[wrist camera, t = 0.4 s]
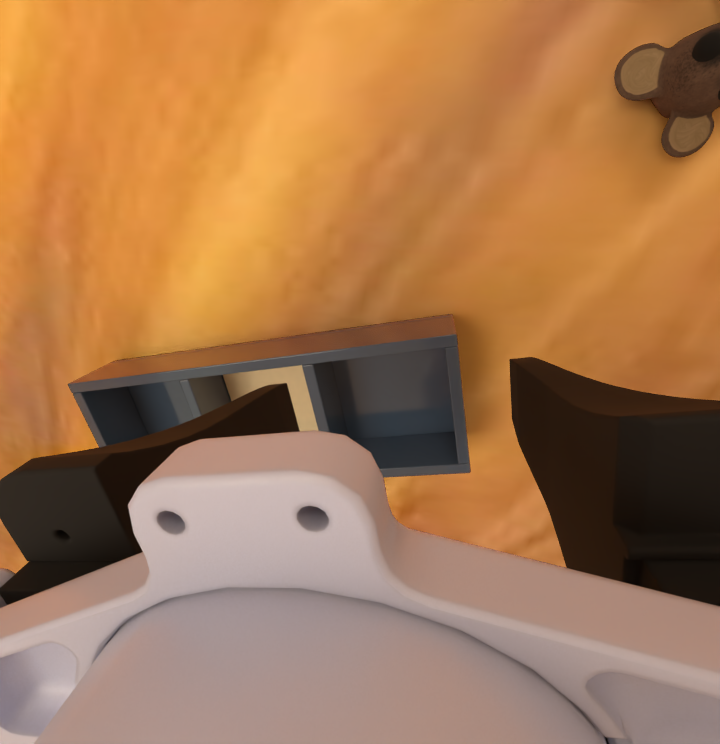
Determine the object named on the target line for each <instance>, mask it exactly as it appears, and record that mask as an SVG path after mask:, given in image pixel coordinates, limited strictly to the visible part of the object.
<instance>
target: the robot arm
mask: <svg viewBox="0 0 720 744" xmlns="http://www.w3.org/2000/svg"><path fill="white" fill-rule="evenodd" d="M510 382H511V404H512V420H513V424H514V428H515V432H516V435H517V439H518V442H519V445H520V447H521V450H522V452H523V454H524V456H525V459H526V461H527V463H528V465H529V467H530V470H531V472H532V474H533V476H534V478H535V480H536V483H537V485H538V487H539V489H540V491H541V493H542V496H543V498H544V500H545V502H546V505H547V508H548V510H549V513H550V515H551V518H552V522H553V525H554V528H555V531H556V534H557V537H558V540H559V544H560V547H561V550H562V553H563V557H564V560H565V563H566V567H567V568H565V567H561V566H557V565H553V564H549V563H545V562H541V561H537V560H533V559H529V558H525V557H521V556H517V555H513V554H509V553H505V552H501V551H497V550H493V549H489V548H485V547H481V546H477V545H473V544H469V543H465V542H461V541H457V540H453V539H449V538H445V537H441V536H437V535H433V534H429V533H425V532H421V531H417V530H413V529H410V528H407V527H405V526H404V525H402V524H400V523H399V522H398V521H397V520H396V519H395V518H394V516H393V515H392V512H391V510H390V507H389V504H388V500H387V494H386V489H385V484H384V479H383V475H382V473H381V471H380V469H379V468H378V466H377V464H376V462H375V460H374V458H373V456H372V454H371V452H369V451H368V450H367V449H365V448H364V447H362V446H361V445H359V444H358V443H356V442H355V441H353V440H352V439H350V438H349V437H348V436H346V435H342V434H335V433H329V432H323V431H316V430H313V431H300V430H299V427H298V423H297V419H296V415H295V412H294V408H293V404H292V400H291V397H290V393H289V389H288V385H287V383H281V384H272V385H267V386H264V387H261V388H258V389H256V390H254V391H252V392H249V393H247V394H245V395H243V396H241V397H239V398H237V399H235V400H233V401H231V402H229V403H227V404H225V405H223V406H221V407H219V408H216V409H214V410H212V411H210V412H208V413H206V414H203V415H201V416H199V417H197V418H195V419H192V420H190V421H187V422H185V423H182V424H179V425H177V426H174V427H171V428H169V429H166V430H163V431H160V432H156V433H153V434H150V435H146V436H143V437H140V438H136V439H133V440H129V441H125V442H121V443H117V444H113V445H108V446H104V447H99V448H94V449H89V450H84V451H78V452H72V453H65V454H59V455H53V456H46V457H39V458H34V459H31V460H29V461H28V462H26V463H25V464H23V465H22V466H20V467H19V468H17V469H16V470H14V471H13V472H11V473H10V474H8V475H7V476H5V477H4V478H2V479H1V480H0V518H1V520H2V522H3V524H4V526H5V527H6V529H7V530H8V532H9V533H10V535H11V536H12V538H13V540H14V541H15V543H16V544H17V546H18V547H19V549H20V550H21V552H22V554H23V555H24V557H25V558H26V560H27V561H29V562H28V563H27V564H26V565H25V566H24V567H23V568H22V569H21V570H19V571H18V572H17V573H16V574H15V573H13V572H12V571H10V570H8V569H4V568H0V744H720V401H716V400H701V399H690V398H680V397H672V396H665V395H658V394H651V393H645V392H640V391H634V390H630V389H626V388H621V387H617V386H613V385H609V384H605V383H602V382H599V381H596V380H593V379H590V378H586V377H583V376H581V375H578V374H575V373H573V372H570V371H567V370H565V369H562V368H560V367H557V366H555V365H553V364H550V363H548V362H545V361H543V360H540V359H537V358H533V357H528V358H518V359H510Z"/></svg>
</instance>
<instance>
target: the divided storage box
mask: <svg viewBox="0 0 720 744" xmlns="http://www.w3.org/2000/svg"><path fill="white" fill-rule="evenodd" d="M281 383H287V385H288V389H289V393H290V397H291V400H292V404H293V408H294V412H295V415H296V419H297V423H298V427H299V430H300V431H313V430H316V431H323V432H329V433H335V434H342V435H346V436H348V437H349V438H350V439H352V440H353V441H355V442H356V443H358V444H359V445H361V446H362V447H364V448H365V449H367V450H368V451H369V452H371V454H372V456H373V458H374V460H375V462H376V464H377V466H378V468H379V469H380V471H381V473H382V475H383V477H401V476H419V475H438V474H456V473H470V472H471V469H470V460H469V450H468V440H467V430H466V420H465V410H464V400H463V390H462V380H461V370H460V361H459V351H458V341H457V333H456V328H455V324H454V319H453V315H452V314H447V315H440V316H433V317H426V318H418V319H411V320H404V321H397V322H390V323H383V324H375V325H368V326H361V327H354V328H347V329H340V330H332V331H325V332H318V333H311V334H304V335H297V336H289V337H282V338H275V339H268V340H261V341H253V342H246V343H239V344H232V345H225V346H218V347H210V348H203V349H196V350H189V351H182V352H175V353H167V354H160V355H153V356H146V357H139V358H132V359H124V360H117V361H113V362H111V363H109V364H107V365H105V366H103V367H101V368H99V369H97V370H95V371H93V372H91V373H89V374H87V375H85V376H83V377H81V378H79V379H77V380H75V381H73V382H71V383H69V384H68V386H69V388H70V390H71V392H72V393H73V396H74V398H75V400H76V402H77V404H78V406H79V408H80V410H81V412H82V414H83V416H84V418H85V420H86V422H87V424H88V426H89V428H90V430H91V432H92V434H93V436H94V438H95V440H96V442H97V444H98V446H99V447H104V446H108V445H113V444H117V443H121V442H125V441H129V440H133V439H136V438H140V437H143V436H146V435H150V434H153V433H156V432H160V431H163V430H166V429H169V428H171V427H174V426H177V425H179V424H182V423H185V422H187V421H190V420H192V419H195V418H197V417H199V416H201V415H203V414H206V413H208V412H210V411H212V410H214V409H216V408H219V407H221V406H223V405H225V404H227V403H229V402H231V401H233V400H235V399H237V398H239V397H241V396H243V395H245V394H247V393H249V392H252V391H254V390H256V389H258V388H261V387H264V386H267V385H272V384H281Z"/></svg>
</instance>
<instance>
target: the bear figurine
mask: <svg viewBox="0 0 720 744" xmlns="http://www.w3.org/2000/svg"><path fill="white" fill-rule="evenodd" d="M614 79H615V85H616V88H617V90H618V92H619V93H620V95H621V96H622V97H624V98H626V99H628V100H632V101H639V100H645V99H649V98H651V101H652V103H653V104H654V106H655V107H656V108H657V110H658V111H659V113H660V114H661V115H662V116H664V117H666V118H669V120H668V122H667V124H666V126H665V128H664V131H663V134H662V146H663V148H664V150H665V151H666V152H667V153H668V154H669V155H671V156H673V157H685V156H688V155H691V154H692V153H694V152H696V151H697V150H699V149H700V148H701V147H702V146H703V145H704V144H705V143H706V142H707V140H708V139H709V137H710V135H711V133H712V131H713V128H714V121H713V118H712V112H713V111H714V110H715V109H717V108H718V107H720V23H718V24H715V25H712V26H709V27H707V28H704V29H702V30H700V31H697V32H695V33H693V34H691V35H689V36H687V37H685V38H684V39H682V40H680V41H679V42H678V43H677V44H675V45H674V46H673V47H671V48H664V47H662V46H660V45H658V44H655V43H648V44H644V45H641V46H639V47H637V48H635V49H633V50H632V51H630V52H629V53H627V54H626V55H625V56H624V57H623V58H622V59H621V60H620V62H619V64H618V65H617V68H616V70H615V77H614Z"/></svg>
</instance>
